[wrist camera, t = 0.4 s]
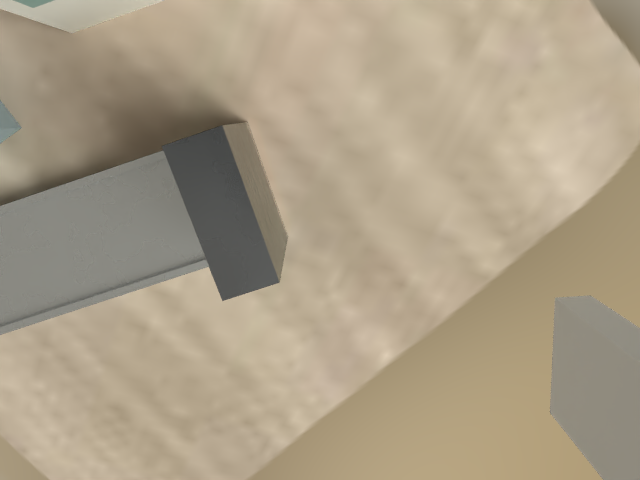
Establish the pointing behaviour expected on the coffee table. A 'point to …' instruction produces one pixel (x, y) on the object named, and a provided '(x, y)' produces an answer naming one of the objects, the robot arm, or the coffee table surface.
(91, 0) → the block
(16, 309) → the rail
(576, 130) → the coffee table surface
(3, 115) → the block
